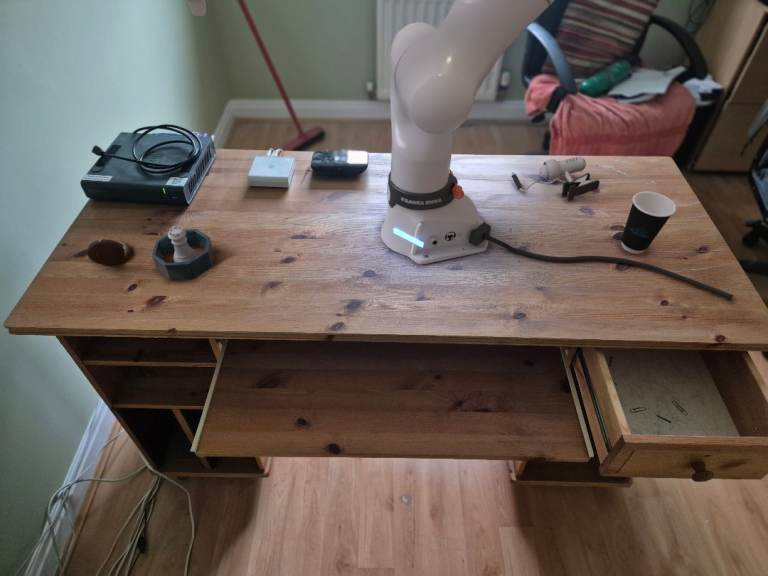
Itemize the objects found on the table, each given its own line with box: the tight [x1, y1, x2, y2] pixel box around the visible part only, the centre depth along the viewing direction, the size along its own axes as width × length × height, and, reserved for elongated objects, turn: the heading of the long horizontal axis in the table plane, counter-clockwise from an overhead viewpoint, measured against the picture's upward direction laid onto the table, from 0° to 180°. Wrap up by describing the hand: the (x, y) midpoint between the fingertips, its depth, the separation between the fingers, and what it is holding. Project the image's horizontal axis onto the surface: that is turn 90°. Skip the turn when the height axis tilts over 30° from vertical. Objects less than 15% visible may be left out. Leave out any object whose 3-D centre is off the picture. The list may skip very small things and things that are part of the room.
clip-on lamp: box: [511, 156, 601, 202], centre depth 116 cm, size 12×6×18 cm
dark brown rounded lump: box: [85, 237, 132, 266], centre depth 95 cm, size 8×8×7 cm
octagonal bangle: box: [151, 228, 216, 282], centre depth 96 cm, size 10×10×4 cm
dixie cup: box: [620, 191, 677, 255], centre depth 100 cm, size 8×8×11 cm
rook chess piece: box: [167, 225, 198, 263], centre depth 95 cm, size 4×4×8 cm
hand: (205, 3), depth 70 cm, fingers open, 8 cm apart
